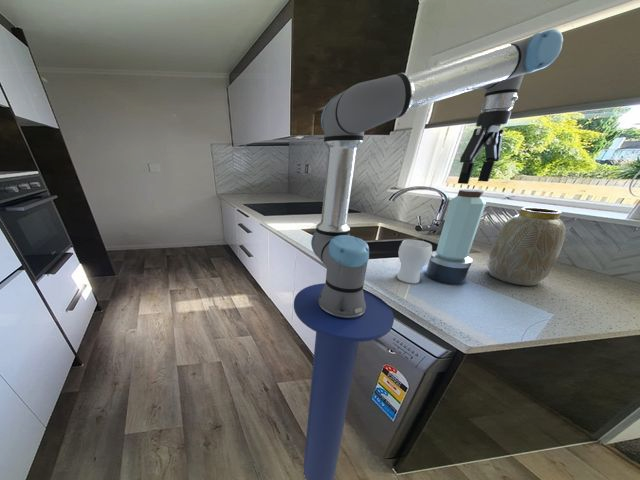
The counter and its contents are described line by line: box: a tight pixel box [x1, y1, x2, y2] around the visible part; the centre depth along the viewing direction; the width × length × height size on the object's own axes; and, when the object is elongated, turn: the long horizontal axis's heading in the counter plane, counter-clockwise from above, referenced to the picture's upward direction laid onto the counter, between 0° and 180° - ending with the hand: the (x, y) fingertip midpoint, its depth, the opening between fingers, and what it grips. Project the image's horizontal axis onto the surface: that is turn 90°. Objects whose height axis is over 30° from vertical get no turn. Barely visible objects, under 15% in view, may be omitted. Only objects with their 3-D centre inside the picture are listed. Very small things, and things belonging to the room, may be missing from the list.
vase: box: [486, 207, 567, 287], centre depth 91 cm, size 17×17×27 cm
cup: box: [396, 239, 433, 284], centre depth 94 cm, size 11×11×15 cm
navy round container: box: [425, 250, 473, 286], centre depth 96 cm, size 13×13×9 cm
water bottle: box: [435, 189, 487, 261], centre depth 89 cm, size 10×10×25 cm
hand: (473, 182), depth 83 cm, fingers open, 13 cm apart
